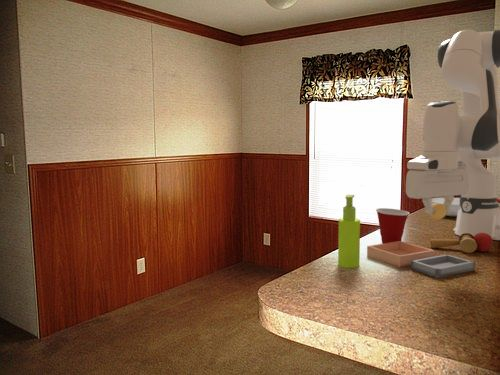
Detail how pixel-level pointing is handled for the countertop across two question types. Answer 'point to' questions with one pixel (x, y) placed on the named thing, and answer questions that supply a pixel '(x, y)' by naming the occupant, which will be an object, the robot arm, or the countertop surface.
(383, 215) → the plastic cup
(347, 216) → the soap dispenser
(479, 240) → the kendama
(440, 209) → the ball
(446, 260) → the tray
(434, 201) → the serving bowl
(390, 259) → the dish
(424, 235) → the countertop surface
